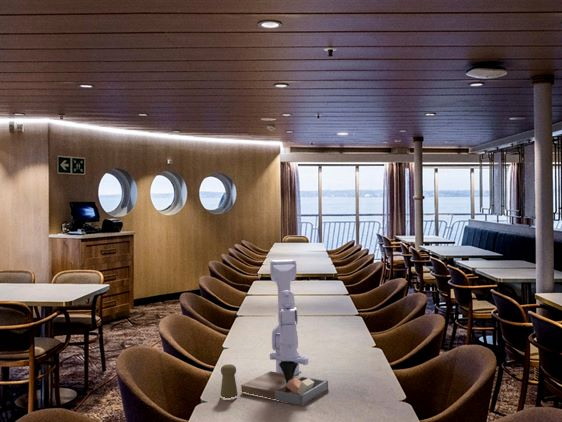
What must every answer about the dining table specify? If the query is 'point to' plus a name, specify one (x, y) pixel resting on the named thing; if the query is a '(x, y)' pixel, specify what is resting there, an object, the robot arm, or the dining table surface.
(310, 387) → the cream tile
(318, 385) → the box
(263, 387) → the tan slab
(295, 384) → the terracotta tile
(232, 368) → the cork
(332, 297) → the dining table surface
